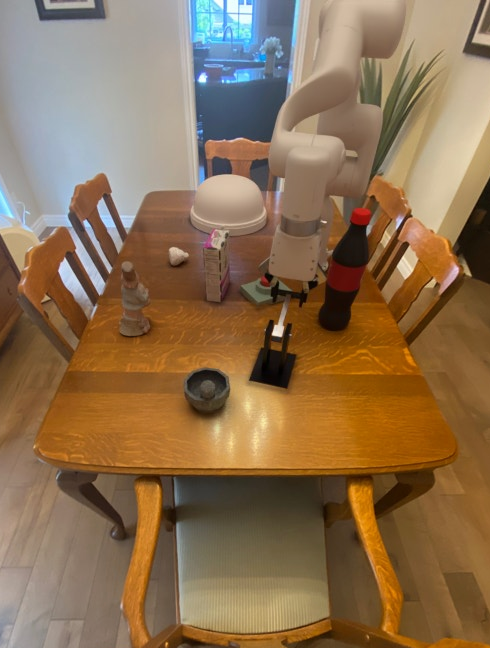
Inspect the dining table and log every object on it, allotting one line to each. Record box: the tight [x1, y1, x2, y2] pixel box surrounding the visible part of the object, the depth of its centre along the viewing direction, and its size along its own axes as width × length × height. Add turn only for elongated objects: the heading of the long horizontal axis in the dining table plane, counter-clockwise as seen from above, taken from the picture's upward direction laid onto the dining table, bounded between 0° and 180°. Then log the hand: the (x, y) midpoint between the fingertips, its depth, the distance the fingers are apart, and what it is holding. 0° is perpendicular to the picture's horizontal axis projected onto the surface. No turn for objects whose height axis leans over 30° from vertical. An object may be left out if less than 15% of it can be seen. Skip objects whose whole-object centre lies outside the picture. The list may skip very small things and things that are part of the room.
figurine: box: [118, 260, 152, 337], centre depth 90 cm, size 9×8×20 cm
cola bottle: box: [317, 207, 372, 332], centre depth 88 cm, size 8×8×30 cm
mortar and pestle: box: [183, 366, 231, 414], centre depth 75 cm, size 11×9×12 cm
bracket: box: [248, 319, 298, 390], centre depth 83 cm, size 12×9×13 cm
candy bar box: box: [202, 229, 231, 304], centre depth 103 cm, size 11×5×16 cm, turn 168°
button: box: [260, 275, 271, 287], centre depth 105 cm, size 4×4×2 cm
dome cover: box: [190, 173, 268, 237], centre depth 138 cm, size 32×30×14 cm
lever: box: [272, 289, 301, 344], centre depth 81 cm, size 13×6×2 cm, turn 164°
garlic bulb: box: [168, 246, 190, 267], centre depth 118 cm, size 6×6×5 cm
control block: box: [239, 277, 293, 307], centre depth 107 cm, size 12×10×4 cm
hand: (288, 301), depth 85 cm, fingers closed on lever, 5 cm apart
